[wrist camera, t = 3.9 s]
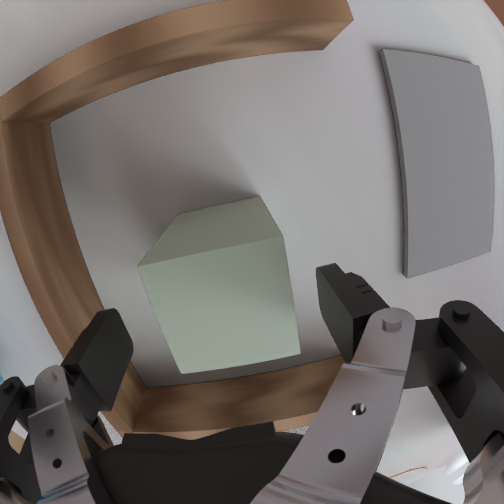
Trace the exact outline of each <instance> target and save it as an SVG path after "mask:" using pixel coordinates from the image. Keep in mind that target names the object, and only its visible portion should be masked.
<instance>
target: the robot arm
mask: <svg viewBox="0 0 504 504" xmlns="http://www.w3.org/2000/svg"><path fill="white" fill-rule="evenodd" d="M316 279H317V288H318V297H319V306H320V311H321V314H322V317H323V319H324V321H325V323H326V325H327V327H328V329H329V331H330V333H331V335H332V337H333V339H334V341H335V343H336V345H337V347H338V349H339V351H340V353H341V355H342V357H343V359H344V361H345V363H344V364H343V365H342V367H341V368H340V370H339V372H338V374H337V376H336V378H335V380H334V382H333V384H332V386H331V388H330V390H329V392H328V394H327V396H326V398H325V400H324V401H323V403H322V405H321V407H320V409H319V411H318V412H317V414H316V416H315V418H314V419H313V421H312V423H311V425H310V426H309V428H308V430H307V431H306V433H305V435H301V434H296V433H288V432H276V430H275V426H274V423H273V421H271V422H266V423H260V424H254V425H248V426H241V427H234V428H230V429H227V430H224V431H221V432H218V433H215V434H212V435H209V436H205V437H202V438H198V439H194V440H187V439H182V438H176V437H171V436H166V435H161V434H156V433H150V434H142V433H124V436H123V440H122V444H119V445H115V446H114V445H113V443H112V441H111V439H110V437H109V435H108V433H107V431H106V428H105V426H104V424H103V422H102V420H101V418H100V417H99V416H98V415H97V414H98V412H99V411H112V408H113V405H114V402H115V399H116V397H117V394H118V391H119V388H120V386H121V383H122V380H123V377H124V375H125V372H126V370H127V367H128V364H129V362H130V359H131V357H132V354H133V343H132V340H131V337H130V335H129V333H128V331H127V329H126V327H125V325H124V323H123V321H122V319H121V316H120V314H119V312H118V311H117V310H116V309H114V308H113V309H107V310H101V311H98V312H97V313H96V315H95V316H94V317H93V319H92V320H91V322H90V323H89V325H88V326H87V327H86V328H85V329H84V330H83V331H82V332H81V334H80V335H79V337H78V338H77V340H76V341H75V343H74V344H73V347H71V349H70V351H69V352H68V354H67V355H66V357H65V358H64V360H63V362H62V363H61V365H54V366H50V367H48V368H46V369H45V370H43V371H42V372H41V373H40V374H39V375H38V376H37V378H36V380H35V384H34V385H31V386H27V387H26V386H25V385H24V384H23V382H22V381H21V379H20V378H19V377H16V376H15V377H11V378H8V379H7V380H5V381H4V382H3V383H2V384H1V385H0V504H452V503H449V502H446V501H443V500H440V499H438V498H435V497H432V496H430V495H427V494H425V493H422V492H420V491H417V490H415V489H413V488H410V487H408V486H406V485H403V484H401V483H399V482H397V481H395V480H392V479H390V478H388V477H386V476H384V475H382V474H380V473H378V472H376V470H377V468H378V465H379V463H380V460H381V458H382V455H383V452H384V450H385V447H386V444H387V441H388V438H389V435H390V432H391V429H392V426H393V423H394V420H395V417H396V413H397V410H398V406H399V403H400V399H401V395H402V391H403V389H409V388H417V387H424V386H428V388H429V389H430V391H431V393H432V394H433V396H434V398H435V399H436V401H437V403H438V405H439V406H440V408H441V410H442V412H443V413H444V415H445V417H446V419H447V420H448V422H449V424H450V426H451V428H452V429H453V431H454V433H455V435H456V437H457V439H458V441H459V443H460V444H461V446H462V448H463V450H464V452H465V454H466V456H467V458H468V460H469V462H470V464H469V466H468V467H467V469H466V471H465V473H464V477H463V486H464V490H465V500H464V503H463V504H504V332H503V331H502V330H501V329H500V328H499V327H498V326H497V325H496V324H495V323H494V322H493V321H492V320H491V319H489V318H488V317H487V316H486V315H485V314H484V313H483V312H482V311H481V310H480V309H479V308H478V307H476V306H475V305H474V304H472V303H470V302H467V301H461V300H455V301H450V302H448V303H446V304H444V305H443V306H442V307H441V309H440V314H439V318H432V319H424V320H415V318H414V316H413V315H412V314H411V313H409V312H408V311H406V310H403V309H400V308H390V307H389V306H388V305H387V304H386V302H385V301H384V300H383V299H382V298H381V297H380V296H379V295H378V294H377V293H376V292H375V291H374V290H373V288H372V287H371V286H370V285H368V283H367V282H366V281H365V280H364V279H363V278H362V277H361V276H359V275H357V274H354V273H352V272H350V273H346V274H345V273H344V272H343V271H342V270H341V269H340V267H339V266H338V265H337V264H336V263H333V264H329V265H325V266H321V267H317V268H316ZM15 420H17V421H18V422H19V423H20V424H21V426H22V427H23V428H24V429H25V430H26V431H27V432H28V435H27V437H26V440H25V442H24V444H23V447H22V450H21V452H20V455H19V454H18V453H17V452H16V451H15V450H14V449H12V447H11V446H10V444H9V441H8V435H9V433H10V431H11V429H12V427H13V424H14V422H15Z"/></svg>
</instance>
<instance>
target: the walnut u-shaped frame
mask: <svg viewBox="0 0 504 504" xmlns="http://www.w3.org/2000/svg"><path fill="white" fill-rule="evenodd" d="M352 21H353V17H352V14H351V11H350V8H349V5H348V2H347V0H224V1H218V2H213V3H208V4H203V5H198V6H194V7H189V8H185V9H181V10H177V11H173V12H170V13H166V14H163V15H160V16H156V17H153V18H150V19H147V20H144V21H141V22H138V23H135V24H132V25H130V26H127V27H124V28H122V29H119V30H117V31H114V32H112V33H110V34H107V35H105V36H103V37H100V38H98V39H96V40H94V41H92V42H90V43H87V44H85V45H83V46H81V47H79V48H77V49H75V50H73V51H72V52H70V53H68V54H66V55H64V56H62V57H61V58H59V59H57V60H55V61H54V62H52V63H50V64H48V65H47V66H45V67H44V68H42V69H40V70H39V71H37V72H36V73H34V74H33V75H31V76H30V77H28V78H27V79H25V80H24V81H22V82H21V83H19V84H18V85H16V86H15V87H14V88H12V89H11V90H10V91H8V92H7V93H6V94H4V95H3V96H2V97H0V211H1V215H2V218H3V222H4V225H5V229H6V232H7V235H8V238H9V241H10V244H11V247H12V250H13V253H14V256H15V259H16V261H17V264H18V267H19V269H20V272H21V274H22V277H23V279H24V282H25V284H26V286H27V289H28V291H29V293H30V295H31V298H32V300H33V302H34V304H35V306H36V308H37V310H38V312H39V314H40V316H41V318H42V320H43V322H44V324H45V326H46V328H47V330H48V332H49V334H50V335H51V337H52V339H53V341H54V343H55V344H56V346H57V348H58V350H59V351H60V353H61V355H62V356H63V358H65V357H66V355H67V354H68V352H69V351H70V349H71V347H73V344H74V343H75V341H76V340H77V338H78V337H79V335H80V334H81V332H82V331H83V330H84V329H85V328H86V327H87V326H88V325H89V323H90V322H91V320H92V319H93V317H94V316H95V315H96V313H97V312H98V311H101V310H104V308H103V305H102V303H101V301H100V298H99V296H98V294H97V291H96V289H95V287H94V284H93V282H92V279H91V277H90V274H89V272H88V269H87V266H86V264H85V261H84V258H83V255H82V253H81V250H80V247H79V244H78V241H77V238H76V235H75V232H74V229H73V226H72V222H71V219H70V216H69V212H68V209H67V205H66V201H65V198H64V194H63V190H62V186H61V182H60V178H59V173H58V169H57V164H56V159H55V154H54V149H53V143H52V137H51V131H50V125H49V123H50V122H52V121H54V120H56V119H58V118H60V117H62V116H64V115H66V114H67V113H70V112H72V111H74V110H76V109H78V108H80V107H82V106H84V105H86V104H89V103H91V102H93V101H95V100H98V99H100V98H102V97H105V96H107V95H110V94H112V93H115V92H117V91H120V90H123V89H125V88H128V87H131V86H133V85H136V84H139V83H142V82H145V81H148V80H151V79H154V78H158V77H161V76H164V75H167V74H171V73H175V72H178V71H182V70H186V69H190V68H194V67H198V66H202V65H207V64H211V63H216V62H221V61H226V60H231V59H237V58H243V57H250V56H257V55H264V54H273V53H282V52H294V51H310V50H323V49H324V48H325V47H326V46H327V45H328V44H329V43H330V42H331V41H332V40H333V39H334V38H335V37H336V36H337V35H338V34H339V33H340V32H341V31H342V30H344V29H345V28H346V27H347V26H348V25H349V24H350V23H351V22H352ZM344 363H345V361H344V359H343V357H342V355H340V356H337V357H333V358H329V359H325V360H321V361H318V362H313V363H309V364H305V365H301V366H296V367H292V368H287V369H283V370H278V371H273V372H268V373H262V374H257V375H251V376H246V377H240V378H233V379H227V380H220V381H212V382H204V383H196V384H187V385H176V386H165V387H150V388H145V386H144V384H143V383H142V381H141V379H140V378H139V376H138V374H137V372H136V371H135V369H134V367H133V365H132V364H131V362H129V364H128V367H127V370H126V372H125V375H124V377H123V380H122V383H121V386H120V388H119V391H118V394H117V397H116V399H115V402H114V405H113V408H112V411H101V413H102V414H103V415H104V416H105V418H106V419H107V420H108V421H109V422H110V424H111V425H112V426H113V427H114V428H115V430H116V431H117V432H118V433H119V434H120V435H121V437H122V438H123V436H124V433H142V434H150V433H156V434H161V435H166V436H171V437H176V438H182V439H187V440H194V439H198V438H202V437H205V436H209V435H212V434H215V433H218V432H221V431H224V430H227V429H230V428H234V427H241V426H248V425H254V424H260V423H266V422H271V421H273V423H274V426H275V430H276V432H280V431H285V430H290V429H295V428H300V427H304V426H308V425H311V423H312V421H313V419H314V418H315V416H316V414H317V412H318V411H319V409H320V407H321V405H322V403H323V401H324V400H325V398H326V396H327V394H328V392H329V390H330V388H331V386H332V384H333V382H334V380H335V378H336V376H337V374H338V372H339V370H340V368H341V367H342V365H343V364H344Z"/></svg>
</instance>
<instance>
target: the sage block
mask: <svg viewBox="0 0 504 504" xmlns="http://www.w3.org/2000/svg"><path fill="white" fill-rule="evenodd" d="M137 268H138V271H139V274H140V277H141V280H142V282H143V285H144V288H145V290H146V293H147V296H148V298H149V301H150V304H151V306H152V309H153V311H154V314H155V316H156V318H157V321H158V323H159V326H160V328H161V330H162V333H163V335H164V337H165V340H166V342H167V344H168V346H169V349H170V351H171V353H172V355H173V357H174V360H175V362H176V364H177V366H178V368H179V370H180V372H181V374H186V373H194V372H202V371H210V370H217V369H223V368H230V367H236V366H242V365H248V364H253V363H259V362H264V361H269V360H274V359H279V358H284V357H288V356H293V355H298V354H301V352H300V344H299V337H298V330H297V323H296V315H295V309H294V302H293V295H292V288H291V282H290V275H289V269H288V263H287V256H286V250H285V244H284V238H283V235H282V233H281V231H280V229H279V228H278V226H277V224H276V222H275V221H274V219H273V217H272V215H271V214H270V212H269V210H268V208H267V207H266V205H265V203H264V202H263V200H262V198H261V196H259V197H254V198H249V199H245V200H240V201H235V202H230V203H226V204H221V205H216V206H212V207H207V208H203V209H199V210H194V211H190V212H186V213H182V214H178V215H177V216H176V217H175V219H174V220H173V221H172V222H171V224H170V225H169V226H168V227H167V228H166V230H165V231H164V232H163V233H162V235H161V236H160V237H159V238H158V240H157V241H156V242H155V244H154V245H153V246H152V247H151V249H150V250H149V251H148V253H147V254H146V255H145V256H144V258H143V259H142V260H141V262H140V263H139V264H138V266H137Z"/></svg>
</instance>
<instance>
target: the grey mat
mask: <svg viewBox="0 0 504 504" xmlns="http://www.w3.org/2000/svg"><path fill="white" fill-rule="evenodd" d="M379 54H380V58H381V62H382V65H383V69H384V73H385V78H386V82H387V86H388V91H389V96H390V101H391V106H392V111H393V117H394V123H395V129H396V136H397V143H398V151H399V159H400V169H401V180H402V194H403V213H404V274H403V275H404V276H405V277H406V278H407V279H408V278H411V277H414V276H418V275H421V274H424V273H427V272H431V271H434V270H437V269H440V268H443V267H446V266H449V265H452V264H455V263H458V262H461V261H464V260H467V259H470V258H473V257H476V256H478V255H481V254H484V253H487V252H489V251H491V243H492V233H493V219H494V158H493V145H492V135H491V126H490V119H489V112H488V106H487V100H486V95H485V90H484V85H483V80H482V76H481V72H480V68H479V66H478V65H474V64H470V63H466V62H462V61H458V60H454V59H449V58H444V57H439V56H434V55H428V54H422V53H415V52H408V51H400V50H390V49H382V50H380V51H379Z"/></svg>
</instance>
